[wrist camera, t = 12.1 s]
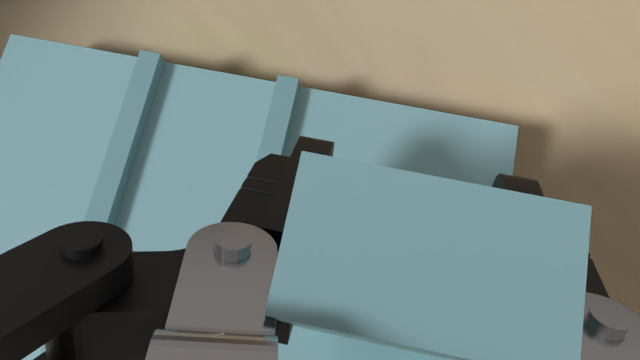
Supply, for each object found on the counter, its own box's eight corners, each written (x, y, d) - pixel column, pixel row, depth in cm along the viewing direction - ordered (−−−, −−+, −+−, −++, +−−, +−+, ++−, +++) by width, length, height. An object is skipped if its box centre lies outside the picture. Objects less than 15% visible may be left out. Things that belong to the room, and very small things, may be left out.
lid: (-123, 421, 14) (-783, 544, 6) (25, 47, 17) (-272, -235, 9) (458, 562, 13) (686, 966, 5) (509, 135, 16) (707, -89, 8)
